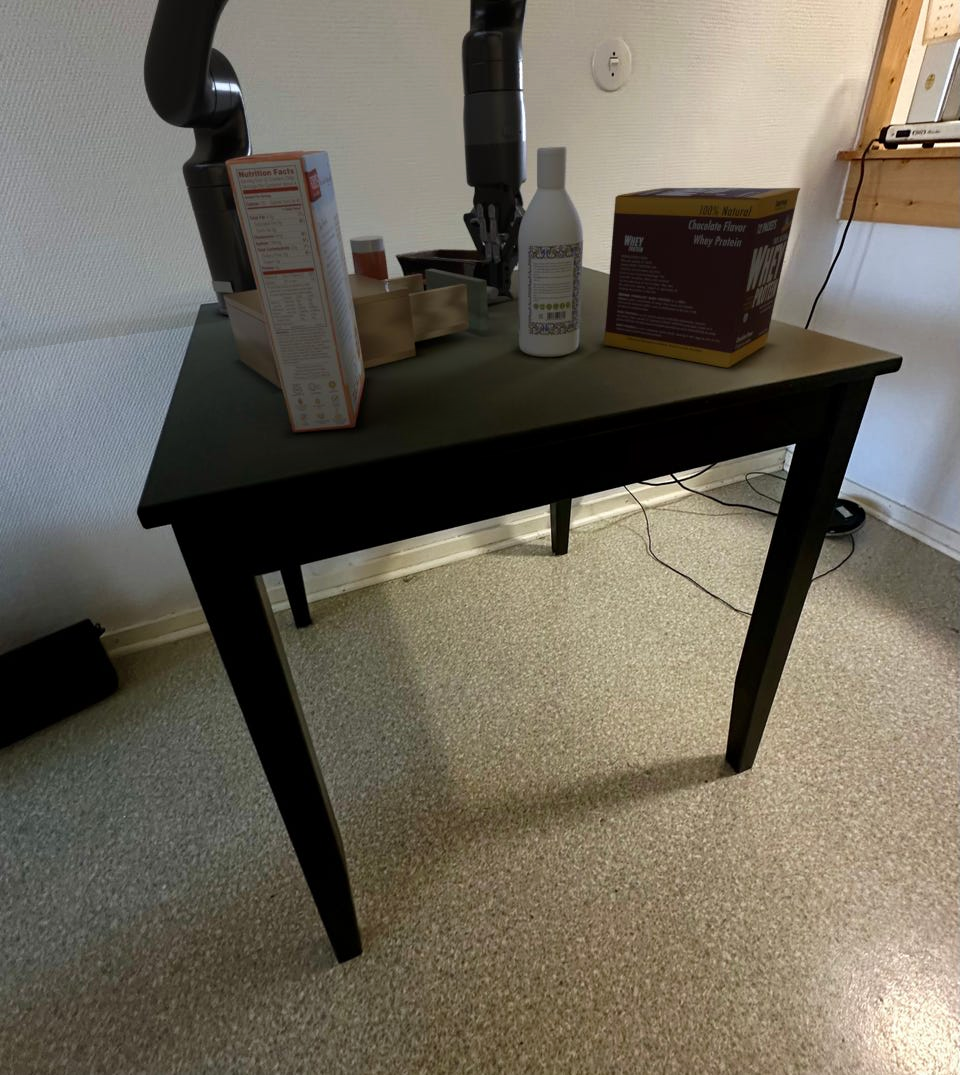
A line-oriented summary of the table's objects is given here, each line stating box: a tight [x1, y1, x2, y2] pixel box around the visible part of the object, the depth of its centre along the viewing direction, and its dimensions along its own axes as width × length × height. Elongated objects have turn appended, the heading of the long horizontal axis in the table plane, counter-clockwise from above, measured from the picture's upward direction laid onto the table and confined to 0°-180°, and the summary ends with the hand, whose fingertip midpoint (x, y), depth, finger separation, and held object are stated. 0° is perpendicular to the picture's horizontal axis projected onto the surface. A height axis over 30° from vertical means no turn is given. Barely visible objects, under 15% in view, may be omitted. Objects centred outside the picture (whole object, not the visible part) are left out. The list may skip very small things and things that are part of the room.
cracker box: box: [226, 150, 366, 433], centre depth 53 cm, size 14×6×21 cm, turn 5°
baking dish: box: [395, 248, 518, 300], centre depth 91 cm, size 14×18×10 cm
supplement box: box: [603, 187, 801, 369], centre depth 65 cm, size 10×15×16 cm
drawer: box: [381, 269, 499, 343], centre depth 76 cm, size 20×12×6 cm, turn 126°
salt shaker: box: [349, 235, 389, 280], centre depth 82 cm, size 4×4×11 cm
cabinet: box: [224, 273, 417, 390], centre depth 70 cm, size 17×14×8 cm
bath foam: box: [517, 146, 584, 358], centre depth 65 cm, size 7×7×20 cm
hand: (500, 291), depth 82 cm, fingers closed
